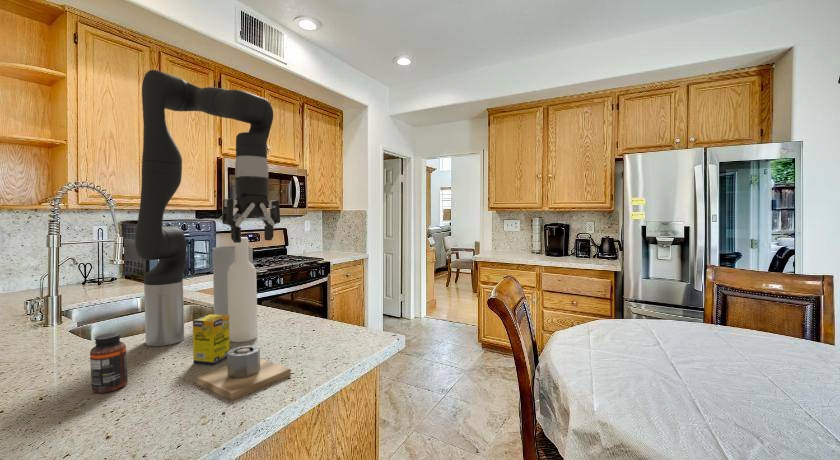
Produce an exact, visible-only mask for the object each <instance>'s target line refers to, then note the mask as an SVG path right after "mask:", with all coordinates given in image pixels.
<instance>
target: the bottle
mask: <svg viewBox="0 0 840 460" xmlns="http://www.w3.org/2000/svg"><path fill="white" fill-rule="evenodd" d="M249 243H250V242H249V238H248V236H241V242H240V243H234V242H233V244H234V246H235V262H234V263H233V264H232V265H231V266H230V267H229V270H228V273H227V279H228V315H229V341H230V342H231V343H245V342H251V341H253V340H255V339H257V338H258V331H259V330H258V329H259V328H258V297H257V296H258V294H257V292H258V291H257V289H258V287H257V270H256V267H255V265H254V263H253V264H252V263H250V262H249V259H248V246H249Z"/></svg>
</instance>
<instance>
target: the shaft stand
mask: <svg viewBox="0 0 840 460" xmlns="http://www.w3.org/2000/svg"><path fill="white" fill-rule="evenodd" d="M249 352H250V349H247V348H246V349H240V350H238V351H237V354H245V353H249ZM291 374H292V372H291V368H290V367H286V366H284V365H280V364H278V363H274V362H273V361H269V360H265V359H263V358H261V357H260V370H259V372H258V374H256V375H253V376H251V377H248V378H240V379H233V378H231V377H229V376H228V373H227V365H224V366H221V367H219V368H216V369H212V370H210V371H207V372H205V373H202V374H199V375H196V376H195V384H197V386H198V385H199V386H200V387H202V388H205V389H207V390H209V391H211V392H213V393H215V394H217V395H220V396H221V397H223V398H226V399H228V400H230V401H234V400H237V399H239V398H241V397H243V396H246V395H248V394H250V393H253V392H255V391H257V390H260V389H263V388H265V387H267V386H269V385H271V384H273V383H276V382H278V381H281V380H283V379H285V378H288V377H290V376H291Z"/></svg>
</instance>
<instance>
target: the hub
mask: <svg viewBox="0 0 840 460" xmlns="http://www.w3.org/2000/svg"><path fill="white" fill-rule="evenodd" d="M246 348H247V349H250V352H249V353H245V354H237V351H238V350H240V349H246ZM260 358H261V347H260V346H256V345H253V344H252V345H241V346H237V347H234V348H230V351H229V352H228V353H227V358H226V359H227V361H226V362H227V363H226V366H227V373H228V376H229V377H231V378H233V379H240V378H248V377H251V376H253V375H256V374H258V372H259V370H260Z"/></svg>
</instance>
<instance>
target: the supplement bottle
mask: <svg viewBox="0 0 840 460" xmlns="http://www.w3.org/2000/svg"><path fill="white" fill-rule="evenodd" d="M94 339H95V340H94V341H95V343H94V344H95V345H94V347H92V348H91V350H90V351H89V357H90V358H89V361H90V377H91V378H90V379H91V382H90V383H91V391H92V392H93V393H95V394H96V393H97V394H103V393H104V394H105V393H111V392H114V391H116V390H119V389H121V388H123V387H125V386H126V385H127V383H128V380H129V379H128V377H129V375H128V362H127V361H128V357H127V356H128V355H127V346H126V344H125V342H122V341H120V340H121V335H120V333H118V332H109V333H103V334H99V335H97V336H95V338H94Z"/></svg>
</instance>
